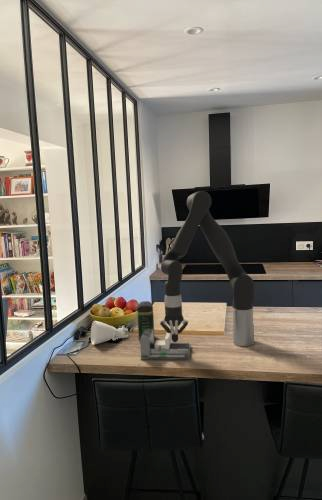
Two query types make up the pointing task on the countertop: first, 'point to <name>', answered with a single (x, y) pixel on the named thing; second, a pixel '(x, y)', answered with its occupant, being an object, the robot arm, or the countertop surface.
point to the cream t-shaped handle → (163, 342)
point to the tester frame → (173, 353)
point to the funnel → (105, 332)
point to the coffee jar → (145, 317)
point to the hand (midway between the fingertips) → (175, 341)
